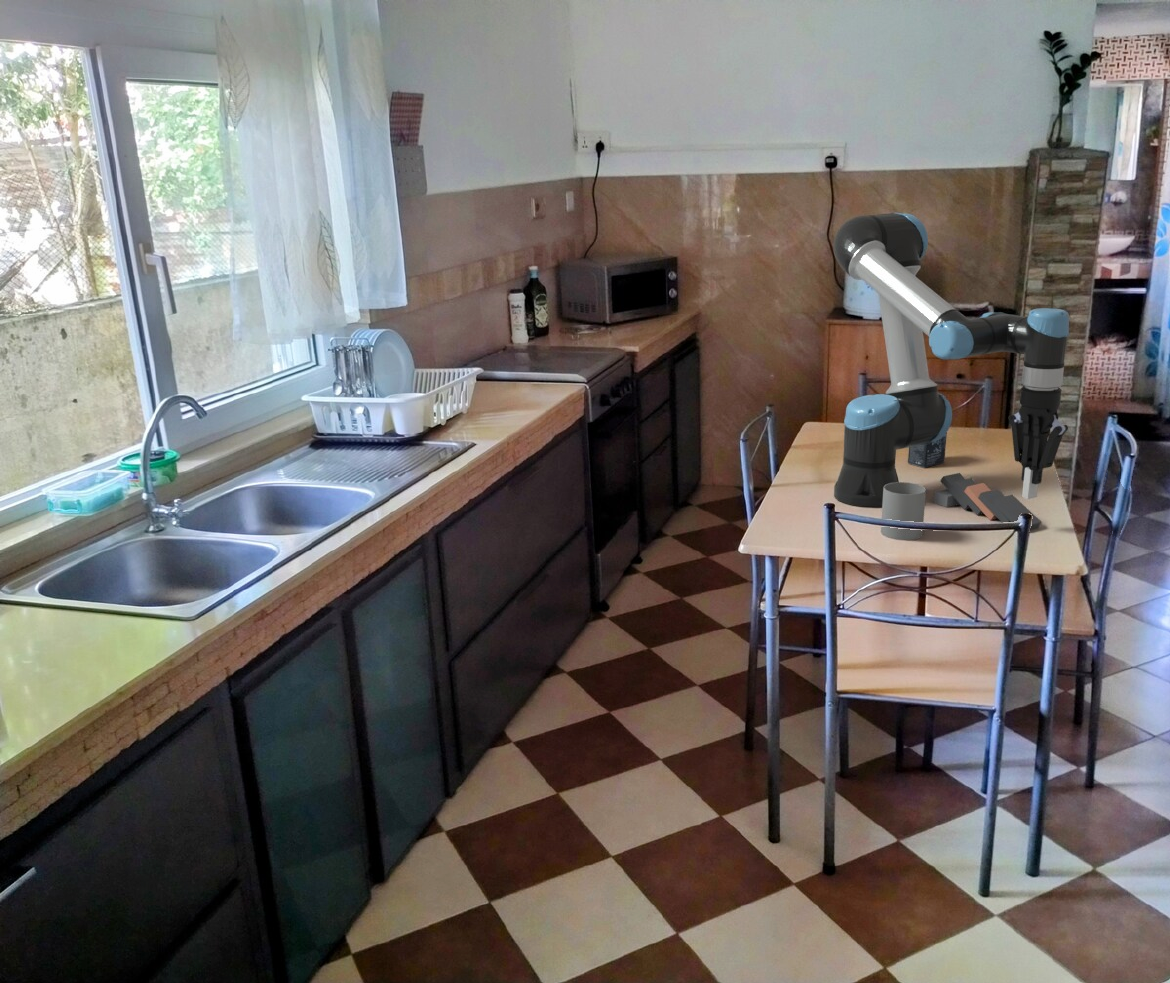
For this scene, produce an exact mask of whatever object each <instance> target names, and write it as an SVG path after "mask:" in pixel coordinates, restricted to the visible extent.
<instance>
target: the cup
mask: <svg viewBox="0 0 1170 983" xmlns="http://www.w3.org/2000/svg"><path fill="white" fill-rule="evenodd" d="M926 491H927V489H926V488H925V487H924V486H923V485H920V484H918V483H913V482H905V481H903V482H902V481H899V482H896V483H889V484H886V485H885V486H884V487H883V503H882V506H881V519H892V520H900V521H914V522H923V523H925V522H924V520H925V507H926V494H927V492H926ZM923 531H924V530H923ZM923 531H921V530H910V529H898V528H890V527H881V526H880V533H881V535H882V536H884V537H885V538H888V539H890V540H891V539H892V540H897V541H915V540H917V539H920V538H922V536H923V533H924V532H923Z"/></svg>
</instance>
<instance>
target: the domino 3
mask: <svg viewBox="0 0 1170 983" xmlns="http://www.w3.org/2000/svg"><path fill="white" fill-rule="evenodd" d="M991 490H992V489H991V488H989V487H988V485H986V484H985V483H984V482H981V483H976V485H972V486H967V488H966V489H965V491H964V492H965V493H966V494H967V495H968V496H969V498H970V499H971V500H972V501H973V502H974V503H975V504H976V505H977V506H978V507H979V509H980V510H981V511H982V512H983V513H984V514H983V515H985V516H986V518H988V520H989V521H992V520H993V519H994V520H997V519H998V518H997V517H996V516H995V515H994V514H993V513H992V512H991V511H990V510H989V509H988V508H987V507H986V506H985V505H984V504H983V503H982V502H981V501H980V500H979V499H978V497H979V495H980V494H981V493H982V492H986V491H991ZM998 520H999V519H998Z"/></svg>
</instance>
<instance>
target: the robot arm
mask: <svg viewBox="0 0 1170 983" xmlns="http://www.w3.org/2000/svg"><path fill="white" fill-rule="evenodd" d="M928 236H929V235H928V232H927V229H926V227H925V225H924V223H923V222H922V221H921V220H920V219H919V218H917V217H916V216H915V215H913V214H911V213H907V212H906V213H905V212H903V213H901V212H892V213H879V214H870V215H866V214H865V215H858V216H855V217H851V218H849V219H848V220H846V221H845V222H843V223H842V225H841V226H840V227H839V228H838V230H837V231H836V233H835V235H834V240H833V246H832V247H833V254H834V257H835V260H836V261H837V263H838V265H839V266H840V268H842V270H843V271H844V272H845V273H846V274H848V275H849V276H850V278H852V279H854V280H857V281H859V280H861V281H863V282H864V283H865V284H867V286H869V287H870V288H871V289H872V290H873V291H875V292H876V293H877V294H878V300H879V301H878V302H879V306H880V308H879V309H880V313H881V322H882V328H883V334H884V342H885V349H886V357H887V362H888V370H889V371H888V372H889V378H890V386H889V388H888V389H887V390H885V394H882V393H881V394H880V393H877V394H867V395H862V396H860V397H859V396H858V397H856V398H854V399H852V400H851V401H849V403H848V404H847V406H846V408H845V416H844V420H843V421H844V430H843V432H844V435H843V436H844V437H843V438H844V439H843V454H842V455H843V458H842V459H843V460H842V467H841V469H840V471H839V474H838V478H837V481H836V482H835V484H834V488H833V497H834V498H835V499H836V500H837V501H839V502H841V503H843V504H847V505H851V506H856V507H865V508H867V507H869V508H875V507H876V508H878V507H879V508H880V507H881V508H882V503H883V487H884V486H885V485H886V484H889V483H896V482H900V480H899V477H898V473H897V469H896V457H897V456H896V454H897V450H902V449H907V448H908V449H909V447H912V446H917V445H926V444H929V443H931V442H934V441H937V440H939V439H941V438H942V437H943V436H944V435H945V434H946V432H947V433H948V431H949V429H950V427H951V425H952V421H953V410H952V409H953V408H952V406H951V403H950V401H949V399H947V397H946V396H945V395H944V394H942V393H940V392H939V388H938V384H937V383H936V382H935V381H933V380H932V379H931V378H930V375H929V368H928V366H929V365H928V360H927V352H926V344H925V338H924V334H925V335H926V336H928V337H929V338H928V345H929V348H931V350H932V351H931V352H932V353H933V355H934V356H936V358H938V359H941V360H959V359H965V358H971V357H975V356H980V355H987V354H995V353H1001V352H1007V353H1015V354H1020V355H1024V356H1023V367H1022V376H1021V384H1022V385H1023V386H1021V388H1020V395H1019V396H1020V397H1019V404H1020V408H1019V409H1018V412H1017V413H1015V414H1010V415H1008V421H1009V424H1010V426H1011V434H1012V445H1013V452H1014V453H1013V454H1014V461H1015V462H1017V463H1020V464H1021V466H1022V470H1021V477H1020V478H1021V481H1023V484H1022V492H1021V498H1023V499H1026V500H1031V499H1035V498H1037V497H1038V490H1039V484H1041V483H1042V479H1043V478H1042V477H1043V471H1044V470H1045V469H1048V468H1052V467H1053V465H1054V462H1055V458H1056V456H1057V454H1058V451H1059V447H1060V444H1061V442H1062V439H1063V436H1064V435H1065V433H1066V432H1067V431H1068V430H1069V426H1068V425H1067V424H1062V422H1061V421H1060V420H1059V414H1058V409H1059V407H1060V405H1061V398H1062V388H1060V387H1061V386H1063V380H1064V371H1065V370H1064V369H1065V358H1066V351H1067V345H1068V339H1069V338H1068V337H1069V334H1070V330H1069V329H1070V325H1069V324H1070V314H1069V312H1068V311H1067V310H1065V309H1060V308H1049V307H1046V308H1045V307H1043V308H1042V307H1041V308H1034V309H1031V310H1030V311H1029V312H1028V316H1022V315H1017V314H1008V313H1005V312H1001V311H998V312H991V311H990V312H985V313H983V314H982V315H981V316H980V317H976V318H975V317H974V318H968V317H967V316H965V315H964V314H962V313H961V312H960V311H958V310H957V308H955V307H954V306H952V304H949V302H948V301H946V300H945V299H944V298H943V297H941V296H940V295H939V294H937V293H936V292H935V291H934V290H933V289H932V288H930V287H929V286H928V285H926V284H925V282H923V281H922V280H920V279H919V278H918V277H917V276H916V275H917V274H918V272H919V271H920V270H921V260H922V259H923V258H924V257H925V255H926V250H927V249H928V247H929V238H928Z"/></svg>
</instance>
